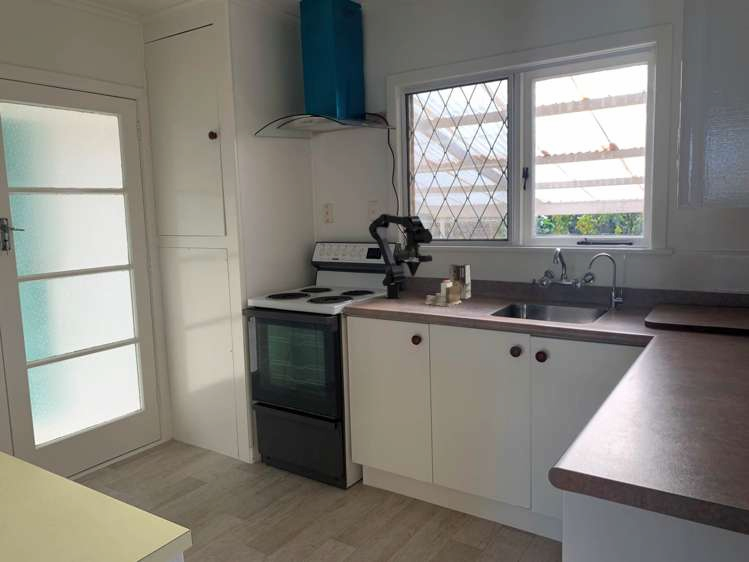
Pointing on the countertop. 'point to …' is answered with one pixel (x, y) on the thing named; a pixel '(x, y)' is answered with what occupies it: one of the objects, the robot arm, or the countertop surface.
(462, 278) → the coffee box
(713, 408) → the countertop surface
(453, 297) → the mount
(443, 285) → the white shaker
